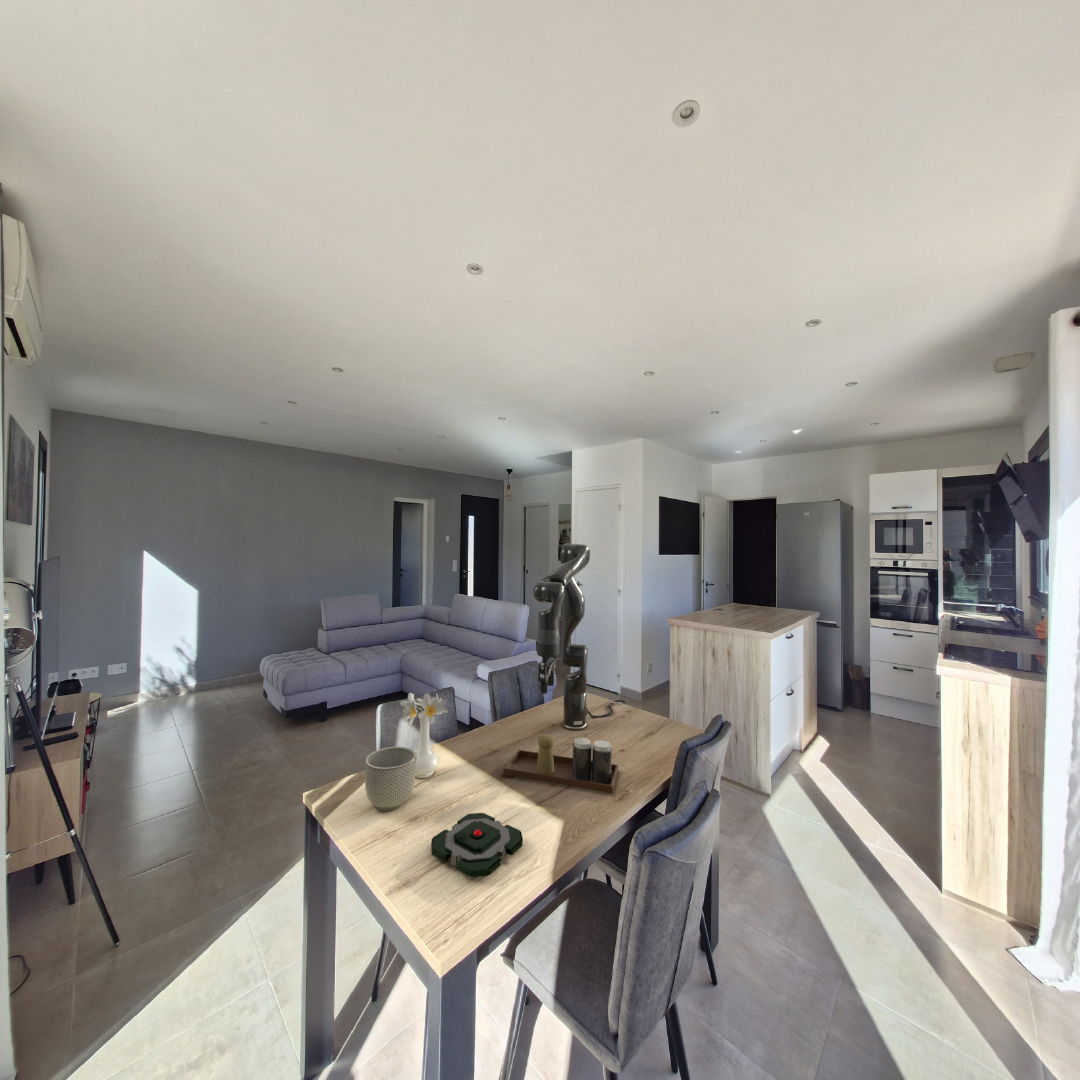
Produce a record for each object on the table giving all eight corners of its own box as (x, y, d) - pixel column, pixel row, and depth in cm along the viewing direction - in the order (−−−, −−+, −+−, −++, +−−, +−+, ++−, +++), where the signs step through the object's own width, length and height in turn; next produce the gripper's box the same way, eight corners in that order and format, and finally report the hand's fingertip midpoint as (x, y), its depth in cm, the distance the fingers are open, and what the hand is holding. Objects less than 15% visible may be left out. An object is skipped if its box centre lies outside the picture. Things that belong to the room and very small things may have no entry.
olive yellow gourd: (555, 766, 149) (555, 732, 149) (553, 775, 143) (554, 740, 143) (536, 764, 150) (537, 731, 150) (534, 773, 144) (535, 738, 144)
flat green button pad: (475, 818, 120) (475, 800, 120) (529, 844, 110) (530, 825, 110) (422, 854, 105) (422, 834, 105) (479, 889, 95) (480, 867, 95)
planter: (425, 804, 126) (426, 757, 126) (377, 825, 116) (378, 774, 116) (400, 785, 136) (401, 742, 136) (354, 803, 126) (356, 756, 126)
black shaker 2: (593, 773, 145) (594, 738, 145) (612, 776, 143) (613, 741, 143) (590, 782, 139) (591, 746, 139) (609, 785, 137) (610, 749, 138)
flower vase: (417, 757, 154) (419, 684, 154) (456, 773, 144) (458, 694, 144) (385, 772, 143) (387, 693, 144) (425, 791, 133) (427, 705, 133)
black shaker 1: (574, 770, 147) (575, 736, 147) (592, 773, 145) (593, 738, 145) (570, 779, 141) (571, 743, 141) (589, 782, 139) (590, 746, 139)
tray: (518, 756, 156) (518, 749, 156) (617, 772, 147) (618, 764, 147) (503, 776, 143) (503, 768, 143) (612, 794, 133) (612, 786, 133)
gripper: (553, 646, 144) (552, 697, 144) (563, 637, 158) (563, 684, 158) (531, 644, 146) (530, 694, 146) (543, 636, 160) (542, 682, 160)
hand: (547, 689), depth 152 cm, fingers open, 8 cm apart
